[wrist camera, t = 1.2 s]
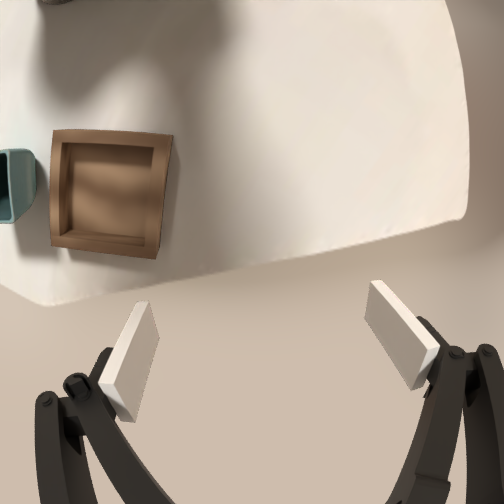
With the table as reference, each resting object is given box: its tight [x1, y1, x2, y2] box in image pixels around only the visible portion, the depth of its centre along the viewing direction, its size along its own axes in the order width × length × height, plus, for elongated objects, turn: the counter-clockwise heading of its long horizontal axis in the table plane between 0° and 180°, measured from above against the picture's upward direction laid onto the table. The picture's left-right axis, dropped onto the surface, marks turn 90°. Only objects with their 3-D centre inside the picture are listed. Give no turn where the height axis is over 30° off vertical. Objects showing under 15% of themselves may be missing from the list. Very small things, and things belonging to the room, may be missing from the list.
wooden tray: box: [49, 129, 173, 259], centre depth 31 cm, size 15×15×4 cm
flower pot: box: [0, 149, 36, 224], centre depth 25 cm, size 9×9×9 cm
